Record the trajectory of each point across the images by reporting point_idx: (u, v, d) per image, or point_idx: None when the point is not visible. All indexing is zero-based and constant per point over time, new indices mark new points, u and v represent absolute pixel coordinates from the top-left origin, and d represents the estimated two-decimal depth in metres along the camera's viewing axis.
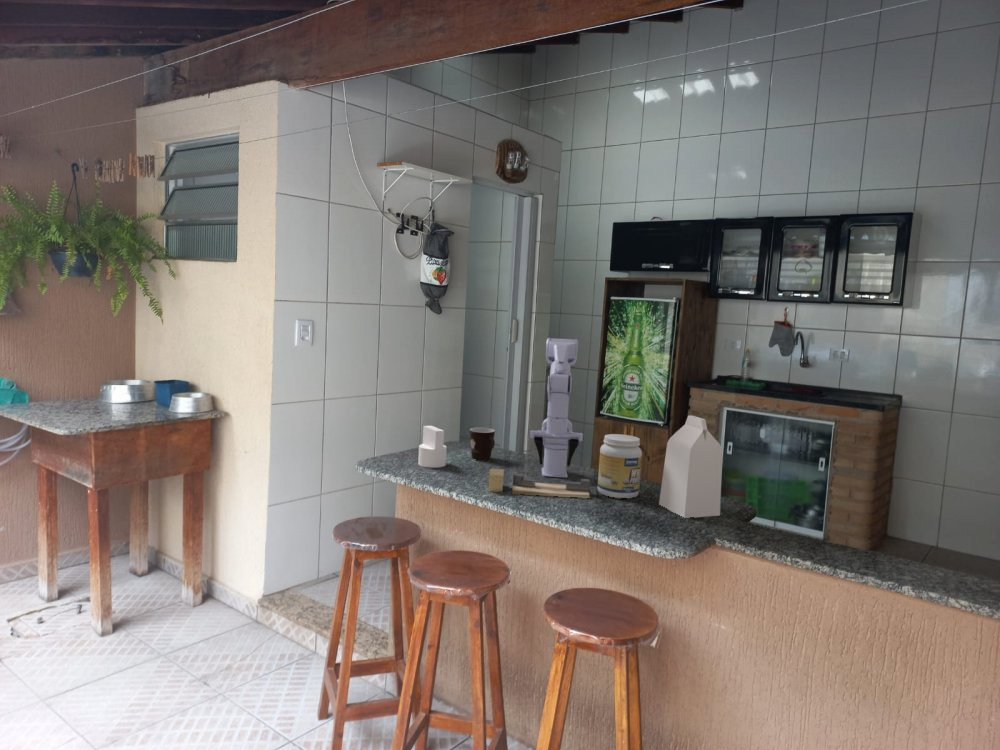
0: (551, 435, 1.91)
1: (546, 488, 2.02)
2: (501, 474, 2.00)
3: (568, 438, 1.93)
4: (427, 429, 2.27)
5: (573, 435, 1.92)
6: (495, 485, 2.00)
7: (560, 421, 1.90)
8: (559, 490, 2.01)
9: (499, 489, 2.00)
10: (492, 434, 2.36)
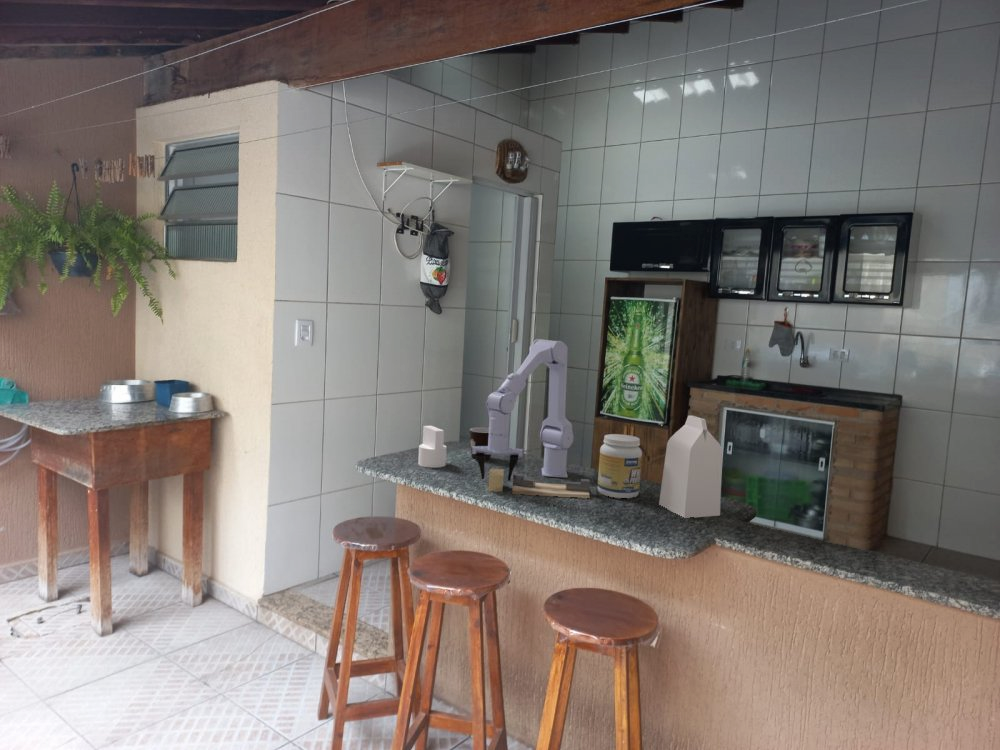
0: (492, 451, 1.99)
1: (546, 488, 2.02)
2: (501, 474, 2.00)
3: (509, 454, 2.02)
4: (427, 429, 2.27)
5: (513, 451, 2.00)
6: (495, 485, 2.00)
7: (500, 438, 1.99)
8: (559, 490, 2.01)
9: (499, 489, 2.00)
10: None
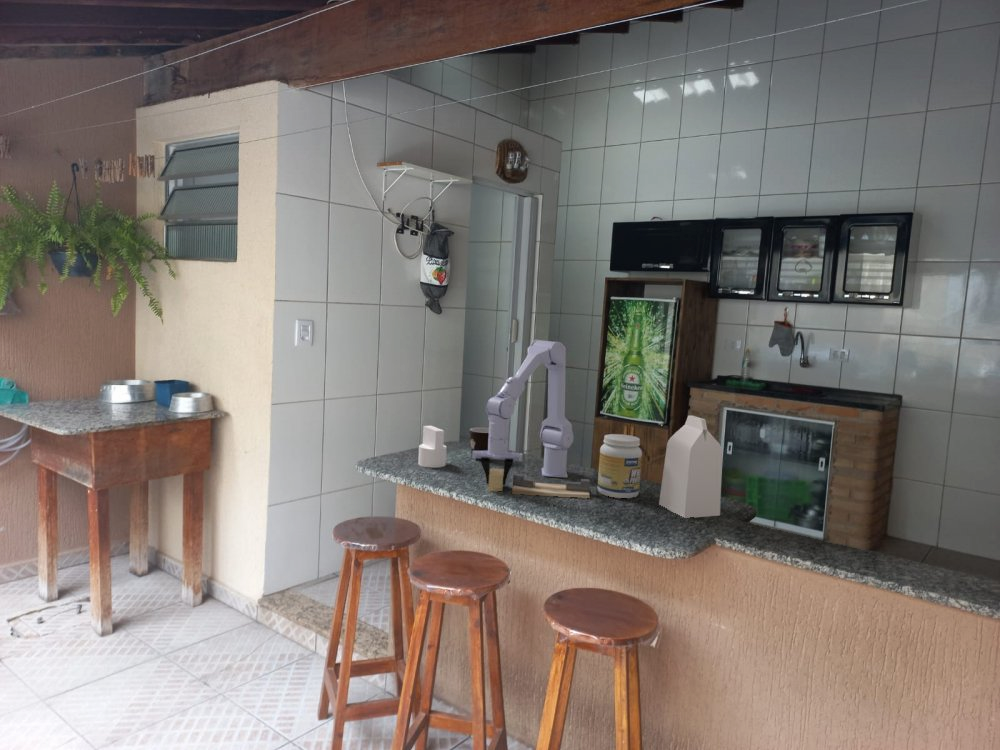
0: (491, 456, 2.00)
1: (546, 488, 2.02)
2: (501, 474, 2.00)
3: (508, 458, 2.02)
4: (427, 429, 2.27)
5: (513, 456, 2.01)
6: (495, 485, 2.00)
7: (500, 442, 1.99)
8: (559, 490, 2.01)
9: (499, 489, 2.00)
10: None
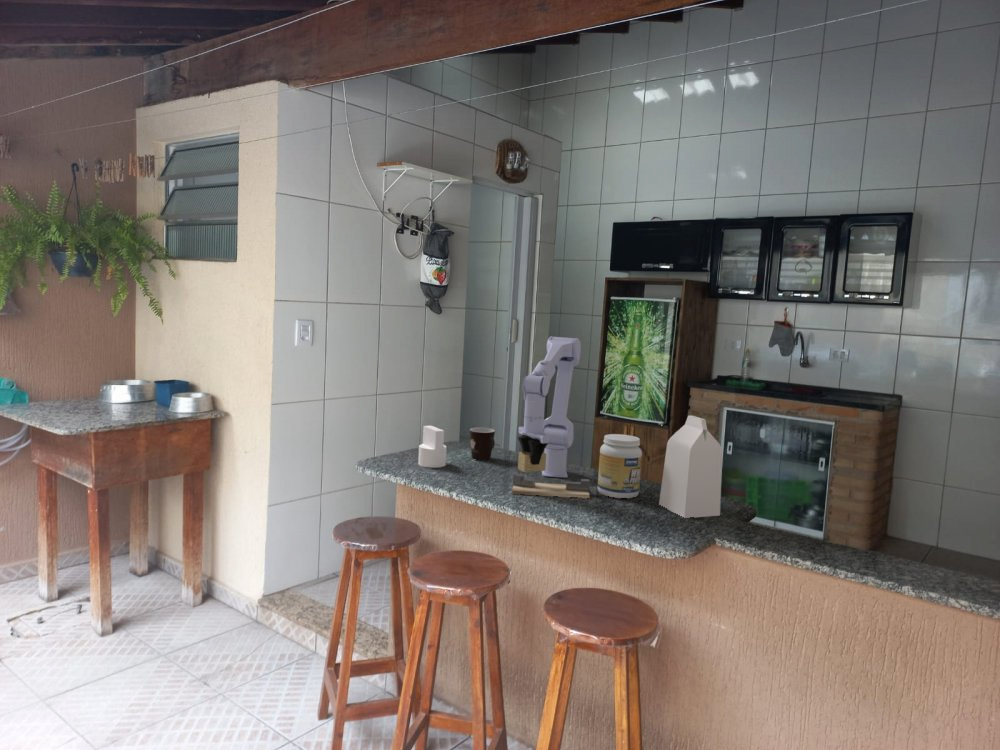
0: None
1: (546, 488, 2.02)
2: (527, 454, 2.00)
3: (537, 439, 1.98)
4: (427, 429, 2.27)
5: (536, 436, 1.96)
6: (521, 463, 2.01)
7: (526, 420, 1.99)
8: (559, 490, 2.01)
9: (523, 468, 2.00)
10: (492, 434, 2.36)
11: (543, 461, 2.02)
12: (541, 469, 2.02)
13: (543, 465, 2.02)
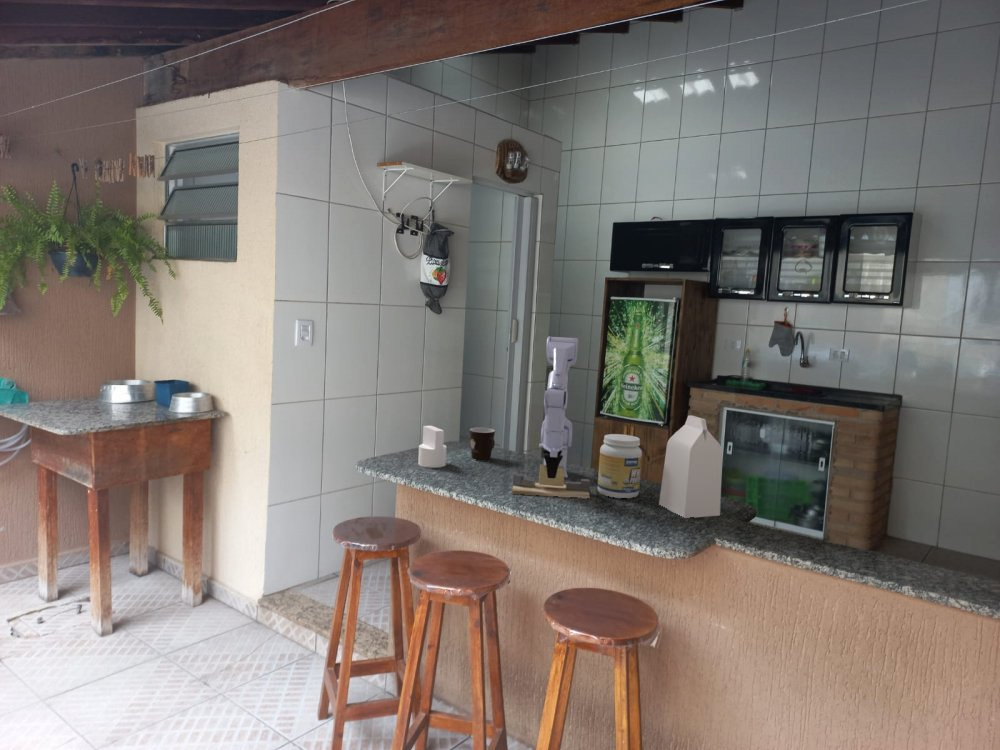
0: None
1: (546, 488, 2.02)
2: (544, 467, 2.01)
3: None
4: (427, 429, 2.27)
5: (548, 449, 1.97)
6: (539, 476, 2.03)
7: (544, 432, 2.00)
8: (559, 490, 2.01)
9: (539, 481, 2.01)
10: (492, 434, 2.36)
11: (561, 476, 2.00)
12: (558, 484, 2.01)
13: (561, 480, 2.00)
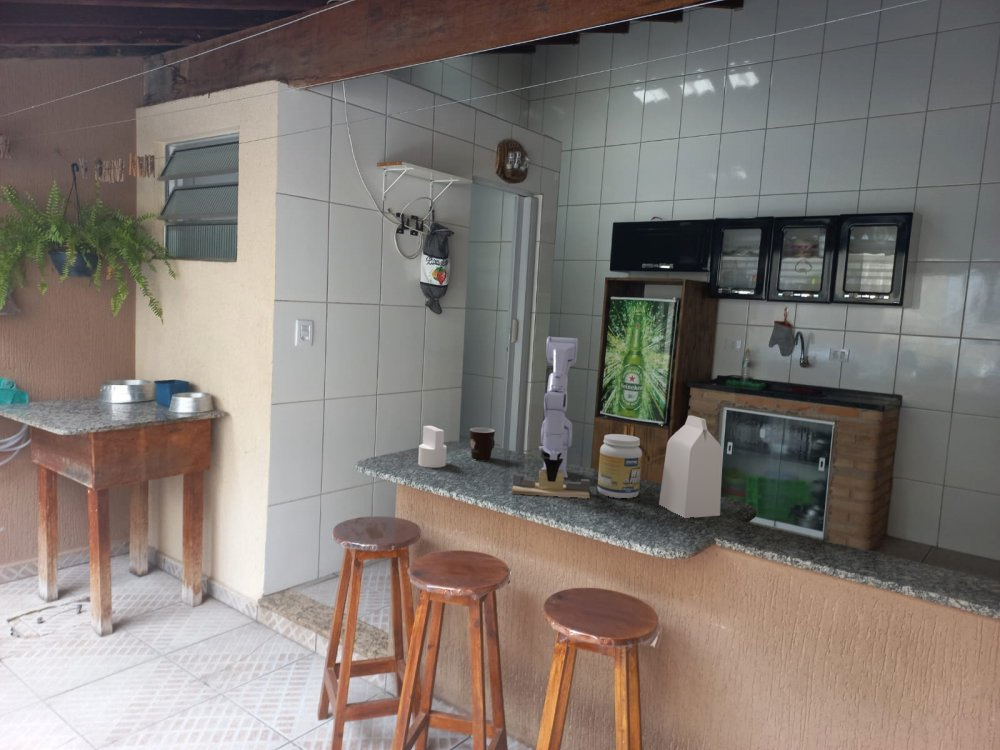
0: None
1: None
2: (543, 472, 2.01)
3: None
4: (427, 429, 2.27)
5: (548, 451, 1.97)
6: None
7: (544, 435, 2.00)
8: None
9: None
10: (492, 434, 2.36)
11: (560, 481, 2.00)
12: (558, 489, 2.01)
13: (560, 485, 2.01)
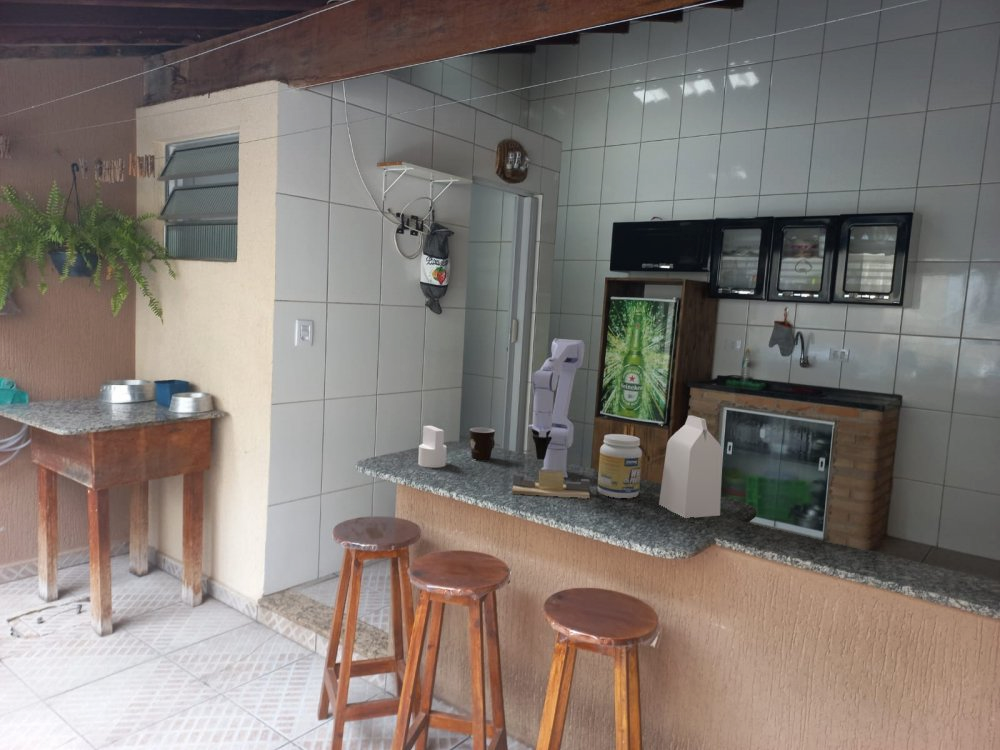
0: None
1: None
2: (543, 472, 2.01)
3: None
4: (427, 429, 2.27)
5: (537, 429, 2.01)
6: None
7: (533, 413, 2.04)
8: None
9: None
10: (492, 434, 2.36)
11: (560, 481, 2.00)
12: (558, 489, 2.01)
13: (560, 485, 2.01)
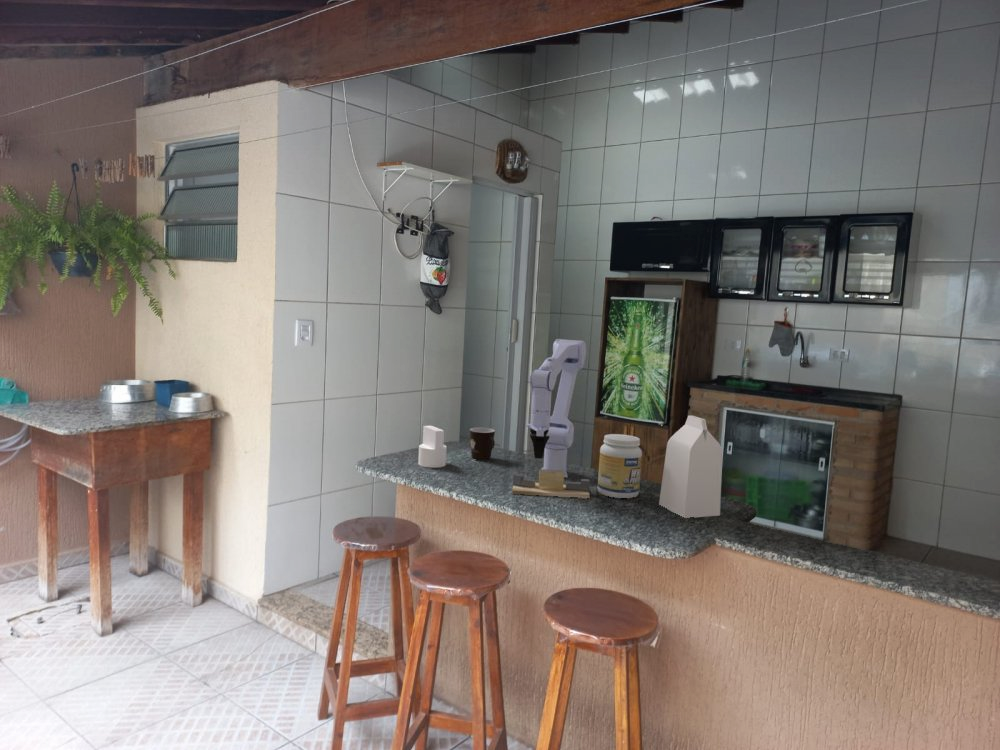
0: None
1: None
2: (543, 472, 2.01)
3: None
4: (427, 429, 2.27)
5: (534, 428, 2.01)
6: None
7: (531, 412, 2.05)
8: None
9: None
10: (492, 434, 2.36)
11: (560, 481, 2.00)
12: (558, 489, 2.01)
13: (560, 485, 2.01)
